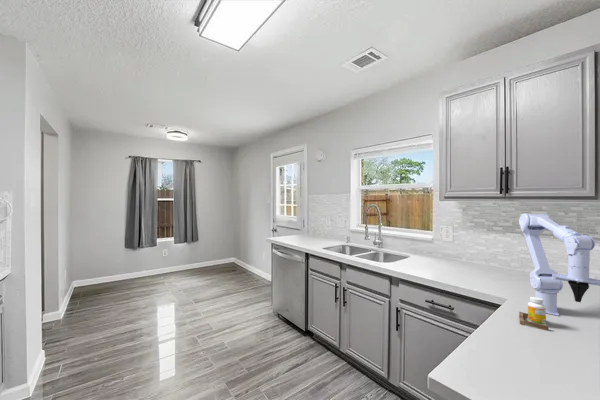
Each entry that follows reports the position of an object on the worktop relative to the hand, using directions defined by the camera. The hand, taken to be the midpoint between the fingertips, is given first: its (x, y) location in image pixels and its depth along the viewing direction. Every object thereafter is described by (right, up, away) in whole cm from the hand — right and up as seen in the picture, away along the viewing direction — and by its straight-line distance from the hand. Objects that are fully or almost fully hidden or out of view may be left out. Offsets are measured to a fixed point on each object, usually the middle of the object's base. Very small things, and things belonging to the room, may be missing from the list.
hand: (577, 301), depth 103 cm
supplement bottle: (-13, -10, +3) cm, 17 cm away
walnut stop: (-13, -10, +4) cm, 17 cm away
